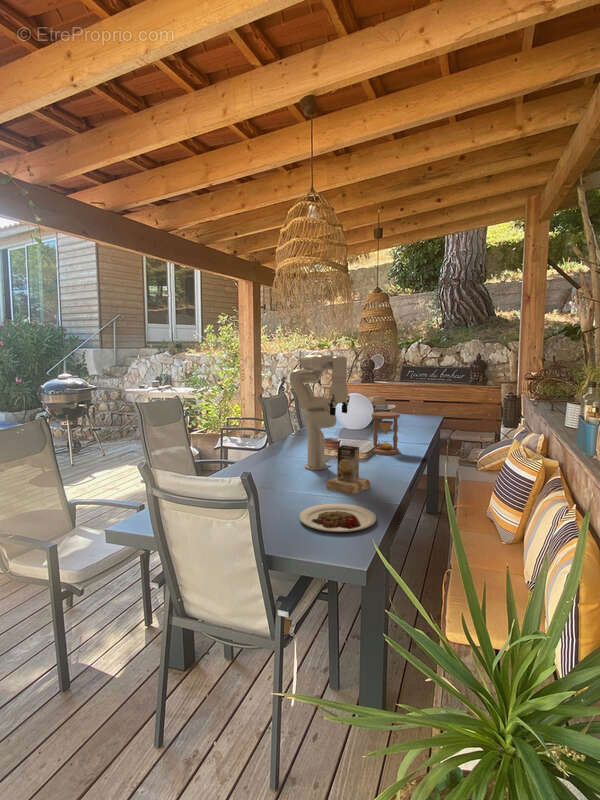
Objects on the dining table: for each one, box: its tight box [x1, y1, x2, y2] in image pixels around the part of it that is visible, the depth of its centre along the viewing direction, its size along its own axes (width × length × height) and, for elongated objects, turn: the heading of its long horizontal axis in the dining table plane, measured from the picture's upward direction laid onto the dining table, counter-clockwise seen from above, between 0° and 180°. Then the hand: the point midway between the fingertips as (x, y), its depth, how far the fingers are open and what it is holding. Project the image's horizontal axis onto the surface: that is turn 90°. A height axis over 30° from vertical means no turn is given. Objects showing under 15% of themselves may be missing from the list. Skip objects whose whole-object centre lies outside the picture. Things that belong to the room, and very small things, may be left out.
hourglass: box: [371, 411, 400, 456], centre depth 304 cm, size 18×18×25 cm
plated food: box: [299, 503, 377, 533], centre depth 186 cm, size 30×30×3 cm
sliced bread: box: [325, 477, 371, 496], centre depth 228 cm, size 15×15×4 cm
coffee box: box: [336, 444, 360, 482], centre depth 227 cm, size 9×6×16 cm
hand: (338, 414), depth 242 cm, fingers open, 9 cm apart
